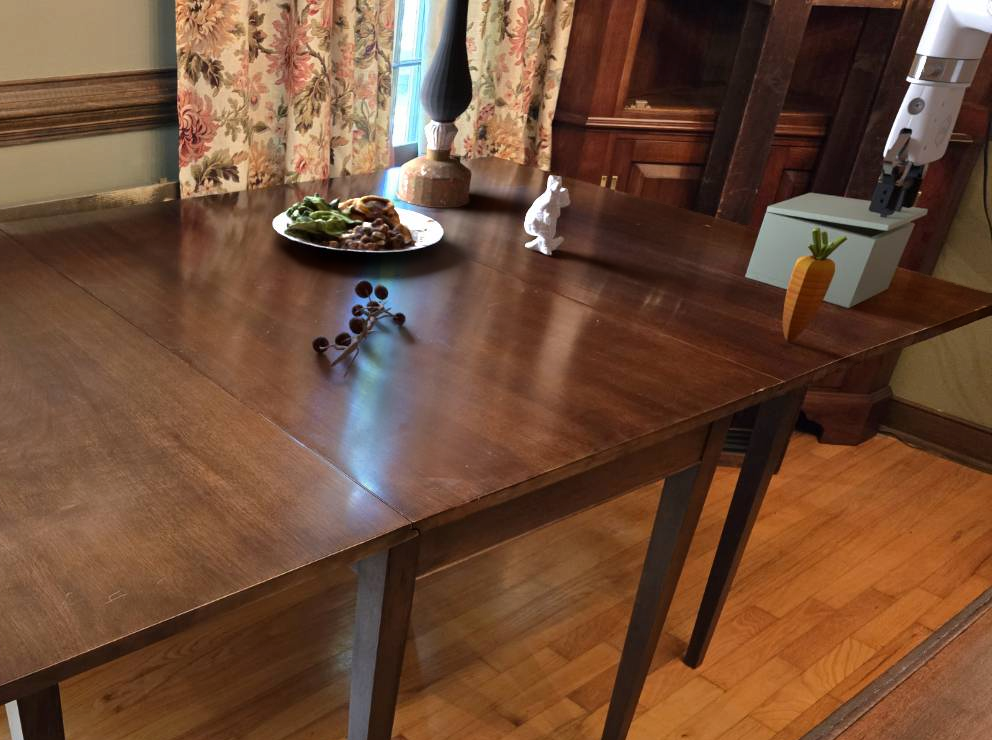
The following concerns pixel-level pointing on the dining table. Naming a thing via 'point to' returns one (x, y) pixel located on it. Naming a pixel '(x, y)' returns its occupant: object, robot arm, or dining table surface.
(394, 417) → the dining table surface
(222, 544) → the dining table surface
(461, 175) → the oil lamp
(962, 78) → the robot arm
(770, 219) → the grey-green storage box
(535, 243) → the white kangaroo figurine
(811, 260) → the carrot
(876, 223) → the box lid
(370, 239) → the plate of food
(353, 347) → the decorative branch
